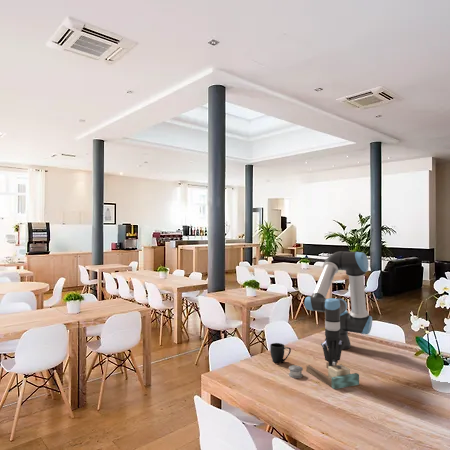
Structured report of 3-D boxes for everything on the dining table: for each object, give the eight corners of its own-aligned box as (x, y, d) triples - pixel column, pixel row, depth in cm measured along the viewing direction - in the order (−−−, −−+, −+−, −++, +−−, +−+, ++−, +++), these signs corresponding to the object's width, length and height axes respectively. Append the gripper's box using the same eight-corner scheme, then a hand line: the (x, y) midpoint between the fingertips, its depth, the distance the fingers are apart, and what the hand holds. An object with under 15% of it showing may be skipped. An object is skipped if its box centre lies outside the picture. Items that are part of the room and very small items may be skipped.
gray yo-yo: (298, 372, 198) (297, 364, 198) (305, 377, 191) (305, 369, 191) (286, 374, 195) (286, 366, 195) (293, 379, 188) (293, 371, 189)
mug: (288, 366, 206) (288, 349, 206) (268, 362, 212) (268, 346, 212) (292, 361, 213) (292, 345, 214) (273, 358, 219) (273, 342, 219)
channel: (329, 367, 204) (329, 358, 204) (359, 384, 182) (359, 374, 182) (306, 371, 199) (306, 361, 199) (334, 389, 176) (334, 378, 176)
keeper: (341, 377, 189) (341, 363, 189) (350, 383, 183) (350, 368, 183) (328, 380, 186) (328, 365, 187) (336, 385, 180) (336, 370, 180)
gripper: (338, 325, 195) (338, 370, 195) (317, 328, 191) (317, 373, 191) (347, 329, 188) (347, 375, 188) (326, 332, 184) (326, 379, 183)
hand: (332, 374), depth 189 cm, fingers closed
